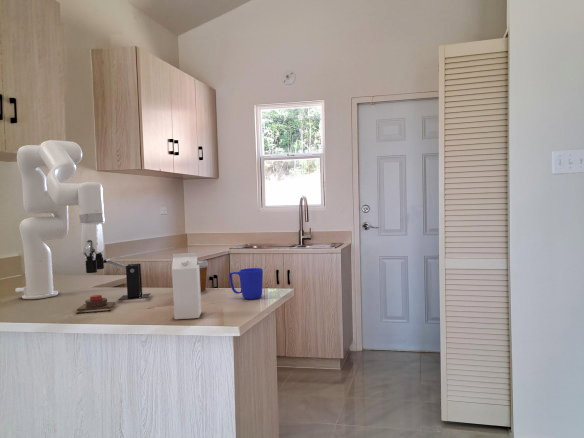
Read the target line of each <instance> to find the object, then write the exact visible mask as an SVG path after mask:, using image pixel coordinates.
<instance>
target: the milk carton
mask: <svg viewBox="0 0 584 438" xmlns="http://www.w3.org/2000/svg"><path fill="white" fill-rule="evenodd" d="M198 260H199V257H198V252H187V253H173V254H172V264H171V279H172V297H173V298H172V299H173V316H174V320H188V319H199V318H200V317H201V314H202V293H201V292H202V291H200V271H199V261H198Z"/></svg>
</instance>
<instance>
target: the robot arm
mask: <svg viewBox="0 0 584 438" xmlns="http://www.w3.org/2000/svg"><path fill="white" fill-rule="evenodd" d="M82 159H83V151H82V148H81V146H80V145H79V143H77V142H74V141H72V140H71V141H69V140H55V139H49V140H45V141H43V142H41V143H40V144H27V145H23V146H21V147H19V148H18V150H17V153H16V163H17V164H16V165H17V167H18V170H19V173H20V175H21V182H22V185H21V186H22V204H23V210H24V211H25V212H26V213H28V214H34V215H35V214H36V215H39V214H52V215H51V216H50V215H49V216H32V217H26V218H24V219H22V221H20V223H19V227H18V228H19V234H20V238H21V243H22V250H23V260H24V262H23V263H24V274H25V276H24V277H25V285H24V286H23V287H15V289H14V291H15V293H16V294H22V293H23V294H22V295H21V298H22V299H23V300H39V299H46V298H52V297H55V296H58V295H59V290H54V276H53V261H52V260H53V259H52V258H53V257H52V251H51V249H50V247H49V246H48V245H47V243H45V241H54V240H63V239H65V238H66V237H67V236H68V234H69V224H70V223H69V206H78V211H79V212H78V213H79V214H78V215H79V225H80V226H81V239H80V240H81V255H83V256H84V257H85V259H84V260H85V273H86V274H96V273H97V272H98V270H103V269H105V263H104V260H105V259H104V245H105V244H104V234H103V233H104V232H103V225H102V224H105V209H104V208H105V207H104V195H103V193H104V192H103V185H102V184H101V182H98V181H84V182H79V183H78V182H77V183H75V182H70V183H69V182H65V181H67V180H69V179H71V178H72V177H73V176H74V175H75V174H76V173H77V166H76V165H78V164H79V163H80V162H81V161H82ZM42 168H43V169H48V173H47V175H46V174H45V173H44V172H43V170H42ZM64 182H65V183H64Z"/></svg>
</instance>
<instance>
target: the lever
mask: <svg viewBox="0 0 584 438" xmlns="http://www.w3.org/2000/svg"><path fill="white" fill-rule="evenodd" d="M104 264H109V265H112V266H116V267H119V268H121V269H125V270H126V266H127V265H126V264H123V263H120V262H117V261H114V260H111V258H109V257H108V258H105V259H104Z"/></svg>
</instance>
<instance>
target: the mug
mask: <svg viewBox="0 0 584 438" xmlns="http://www.w3.org/2000/svg"><path fill="white" fill-rule="evenodd" d="M228 275H229V282H230V287H231V290H232V292H233V293H234V294H237V295H238V294H241V295H242V298H243V299H244V300H257V299H260V298H262V297H263V282H264V281H263V280H264V279H263V276H264V269H263V268H262V267H261V268H260V267H250V268H242V269H239V271H231V272H229V274H228ZM233 275H238V277H239V284H240V291H237V290H236V288H235V286H234V282H233Z"/></svg>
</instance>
